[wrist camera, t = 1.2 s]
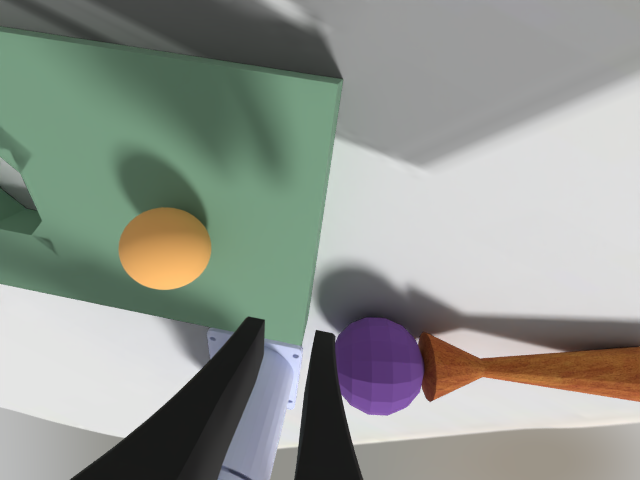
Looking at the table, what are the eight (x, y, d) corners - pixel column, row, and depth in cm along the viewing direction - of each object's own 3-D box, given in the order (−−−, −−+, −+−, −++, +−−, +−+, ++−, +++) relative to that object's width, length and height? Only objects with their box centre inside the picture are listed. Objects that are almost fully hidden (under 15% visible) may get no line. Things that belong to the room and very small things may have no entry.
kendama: (652, 443, 18) (330, 425, 20) (593, 351, 23) (332, 341, 24) (743, 412, 14) (328, 391, 16) (649, 306, 19) (332, 298, 20)
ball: (226, 263, 17) (191, 314, 14) (160, 250, 17) (110, 298, 14) (222, 201, 15) (178, 244, 12) (147, 187, 15) (83, 226, 12)
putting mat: (307, 318, 22) (301, 345, 20) (13, 259, 23) (-22, 279, 21) (343, 79, 13) (338, 83, 11) (-130, 6, 15) (-214, -2, 13)
